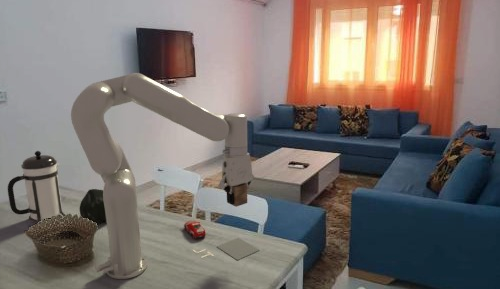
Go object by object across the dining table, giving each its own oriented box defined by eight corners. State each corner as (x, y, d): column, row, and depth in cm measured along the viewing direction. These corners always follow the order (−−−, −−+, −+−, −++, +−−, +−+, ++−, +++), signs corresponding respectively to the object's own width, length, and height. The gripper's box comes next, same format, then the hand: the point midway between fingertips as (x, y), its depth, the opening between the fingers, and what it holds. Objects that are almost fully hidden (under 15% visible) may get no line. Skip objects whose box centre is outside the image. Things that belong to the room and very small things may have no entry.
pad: (237, 260, 124) (237, 259, 123) (216, 247, 132) (216, 246, 132) (259, 250, 130) (259, 249, 130) (238, 238, 139) (238, 237, 139)
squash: (128, 201, 162) (102, 177, 159) (115, 216, 148) (87, 190, 145) (106, 220, 165) (81, 197, 162) (92, 237, 150) (64, 212, 147)
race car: (182, 227, 148) (182, 218, 147) (195, 224, 151) (195, 215, 150) (193, 241, 137) (193, 231, 136) (207, 237, 139) (206, 228, 138)
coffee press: (38, 211, 165) (28, 146, 158) (73, 211, 165) (64, 146, 158) (12, 228, 149) (0, 157, 142) (51, 229, 148) (40, 157, 141)
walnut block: (236, 206, 124) (235, 187, 122) (227, 202, 127) (226, 183, 126) (247, 202, 127) (247, 183, 125) (238, 198, 130) (238, 180, 129)
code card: (201, 264, 121) (201, 264, 121) (182, 250, 130) (182, 250, 130) (223, 255, 127) (223, 254, 127) (204, 242, 136) (204, 242, 136)
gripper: (222, 157, 115) (223, 211, 119) (262, 148, 125) (262, 198, 129) (208, 152, 120) (210, 204, 124) (248, 144, 131) (249, 192, 135)
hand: (237, 200), depth 127 cm, fingers closed on walnut block, 5 cm apart
